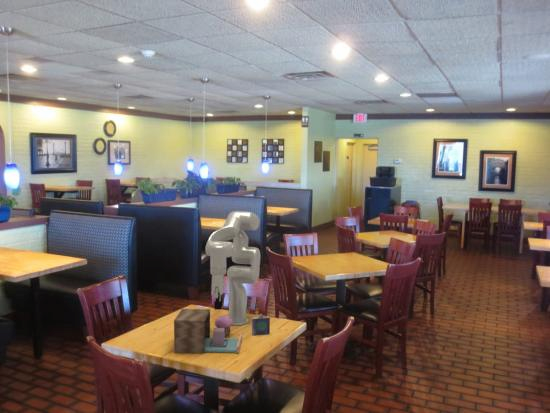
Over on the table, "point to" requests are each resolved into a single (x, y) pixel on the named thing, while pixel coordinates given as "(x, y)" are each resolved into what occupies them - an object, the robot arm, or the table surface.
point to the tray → (228, 346)
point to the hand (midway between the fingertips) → (218, 307)
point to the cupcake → (224, 323)
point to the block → (218, 336)
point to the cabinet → (191, 330)
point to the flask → (260, 325)
